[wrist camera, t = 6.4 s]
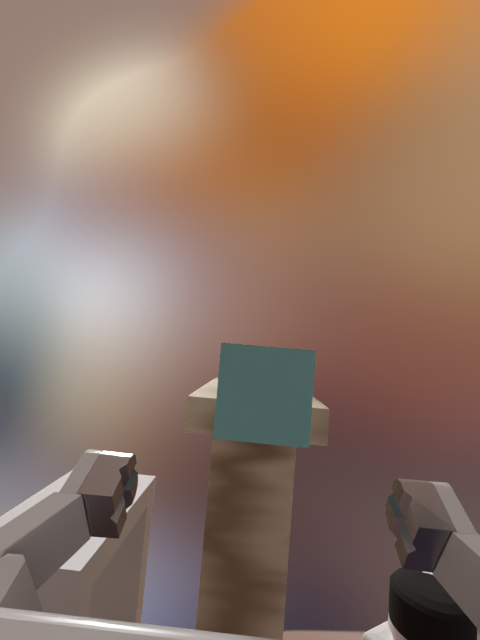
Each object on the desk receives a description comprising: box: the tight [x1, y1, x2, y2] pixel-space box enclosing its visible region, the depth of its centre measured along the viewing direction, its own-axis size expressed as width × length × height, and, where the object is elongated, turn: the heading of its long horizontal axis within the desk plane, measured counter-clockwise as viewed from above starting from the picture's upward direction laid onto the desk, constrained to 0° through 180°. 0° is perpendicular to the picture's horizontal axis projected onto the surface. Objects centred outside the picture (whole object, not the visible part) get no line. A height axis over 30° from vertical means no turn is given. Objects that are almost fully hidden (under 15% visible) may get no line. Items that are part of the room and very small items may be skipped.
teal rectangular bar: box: [213, 343, 316, 448], centre depth 23 cm, size 3×24×3 cm, turn 178°
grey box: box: [0, 470, 156, 623], centre depth 26 cm, size 8×15×16 cm, turn 178°
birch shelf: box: [185, 378, 329, 640], centre depth 26 cm, size 8×15×26 cm, turn 178°
